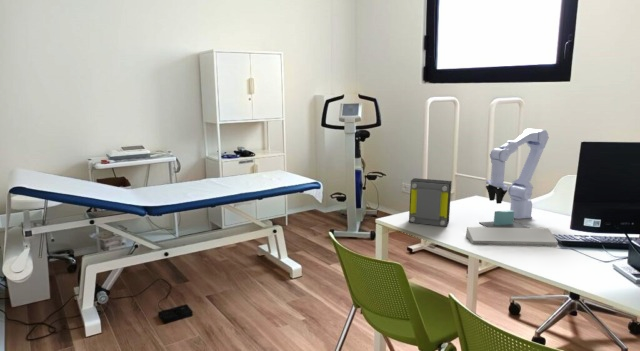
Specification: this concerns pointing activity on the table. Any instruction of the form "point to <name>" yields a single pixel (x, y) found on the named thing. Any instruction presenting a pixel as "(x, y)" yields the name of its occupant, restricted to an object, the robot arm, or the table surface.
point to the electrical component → (430, 201)
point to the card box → (503, 217)
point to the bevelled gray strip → (510, 236)
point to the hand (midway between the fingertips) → (495, 201)
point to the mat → (514, 225)
